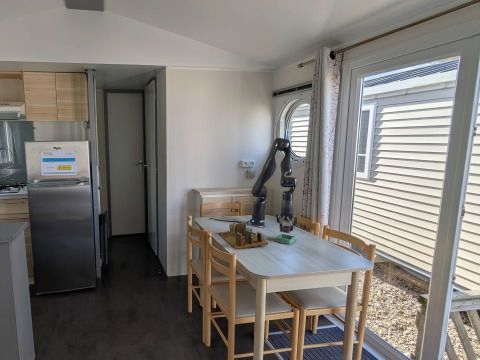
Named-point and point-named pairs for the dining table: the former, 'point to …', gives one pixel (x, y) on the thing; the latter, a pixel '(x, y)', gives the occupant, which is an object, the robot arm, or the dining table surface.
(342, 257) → the dining table surface
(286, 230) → the frame
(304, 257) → the dining table surface
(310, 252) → the dining table surface
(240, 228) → the brown tray with blocks
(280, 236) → the holder
